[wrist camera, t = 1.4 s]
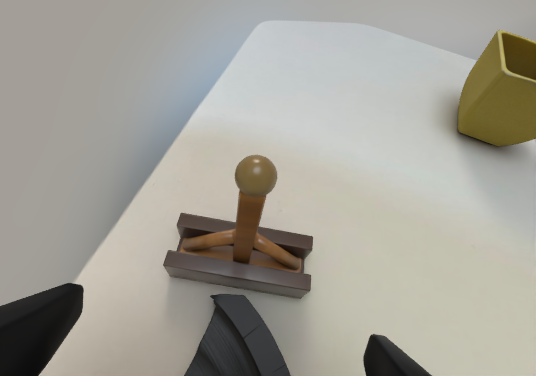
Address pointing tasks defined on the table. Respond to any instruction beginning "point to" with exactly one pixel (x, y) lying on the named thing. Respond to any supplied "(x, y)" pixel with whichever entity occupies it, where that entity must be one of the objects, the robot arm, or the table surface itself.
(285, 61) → the table surface
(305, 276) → the rail
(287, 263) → the ball-topped joystick
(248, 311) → the curved wedge
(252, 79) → the table surface
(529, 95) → the flower pot
